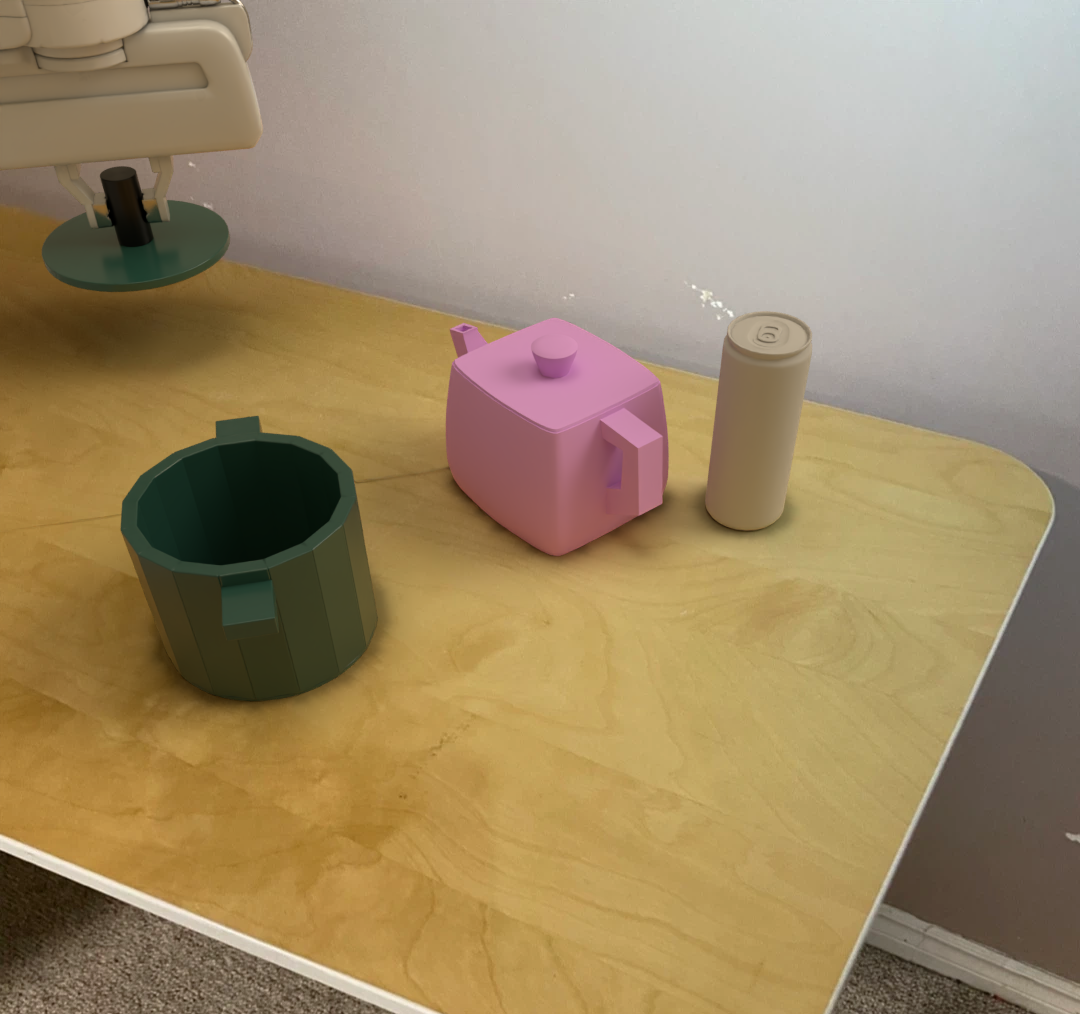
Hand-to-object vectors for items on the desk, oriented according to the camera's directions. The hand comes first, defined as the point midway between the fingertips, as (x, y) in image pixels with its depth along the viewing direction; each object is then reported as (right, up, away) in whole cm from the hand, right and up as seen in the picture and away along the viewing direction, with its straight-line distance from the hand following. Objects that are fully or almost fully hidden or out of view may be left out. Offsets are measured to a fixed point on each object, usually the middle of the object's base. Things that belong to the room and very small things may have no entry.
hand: (130, 222), depth 78 cm
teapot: (+29, -20, -6) cm, 36 cm away
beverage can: (+41, -22, -8) cm, 47 cm away
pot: (+13, -29, -15) cm, 36 cm away
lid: (0, -1, +1) cm, 2 cm away
